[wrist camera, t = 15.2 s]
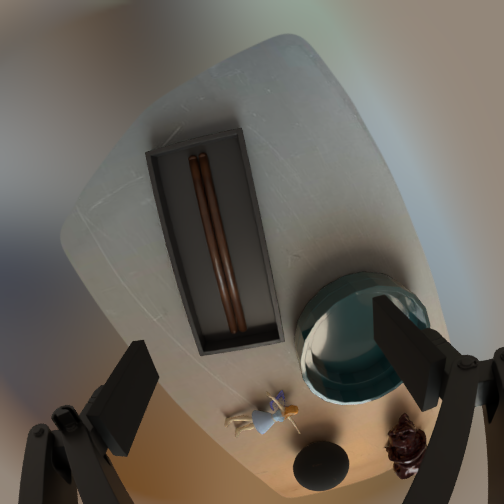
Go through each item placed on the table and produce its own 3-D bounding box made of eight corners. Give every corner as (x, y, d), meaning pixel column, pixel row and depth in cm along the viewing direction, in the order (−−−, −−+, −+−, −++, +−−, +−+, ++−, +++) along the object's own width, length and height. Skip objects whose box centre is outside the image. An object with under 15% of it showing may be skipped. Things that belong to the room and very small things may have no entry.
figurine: (398, 441, 52) (379, 399, 49) (438, 444, 45) (427, 401, 41) (380, 476, 46) (357, 440, 43) (421, 482, 38) (409, 447, 35)
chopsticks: (188, 156, 34) (186, 155, 33) (207, 151, 34) (205, 150, 33) (231, 331, 39) (230, 335, 38) (247, 329, 39) (247, 333, 38)
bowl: (409, 258, 38) (432, 270, 32) (407, 362, 42) (423, 382, 37) (284, 287, 39) (290, 306, 33) (302, 391, 43) (308, 417, 37)
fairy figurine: (208, 418, 40) (280, 396, 37) (214, 398, 45) (280, 374, 42) (247, 456, 43) (313, 438, 40) (250, 436, 47) (311, 417, 44)
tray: (242, 131, 34) (241, 127, 31) (282, 330, 40) (285, 341, 37) (152, 153, 34) (144, 152, 31) (203, 344, 41) (200, 356, 38)
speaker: (312, 425, 45) (322, 468, 35) (352, 437, 47) (366, 475, 37) (280, 455, 47) (284, 495, 38) (320, 464, 49) (328, 502, 39)
